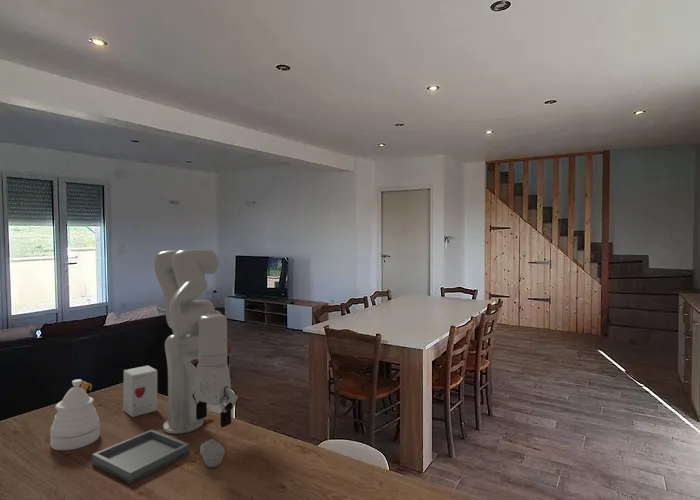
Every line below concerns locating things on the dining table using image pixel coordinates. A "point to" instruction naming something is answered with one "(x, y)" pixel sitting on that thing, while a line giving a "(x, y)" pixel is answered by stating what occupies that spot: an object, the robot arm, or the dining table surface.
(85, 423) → the honey pot
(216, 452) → the frog figurine
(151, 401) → the supplement box
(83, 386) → the figurine
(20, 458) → the dining table surface
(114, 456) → the tray
